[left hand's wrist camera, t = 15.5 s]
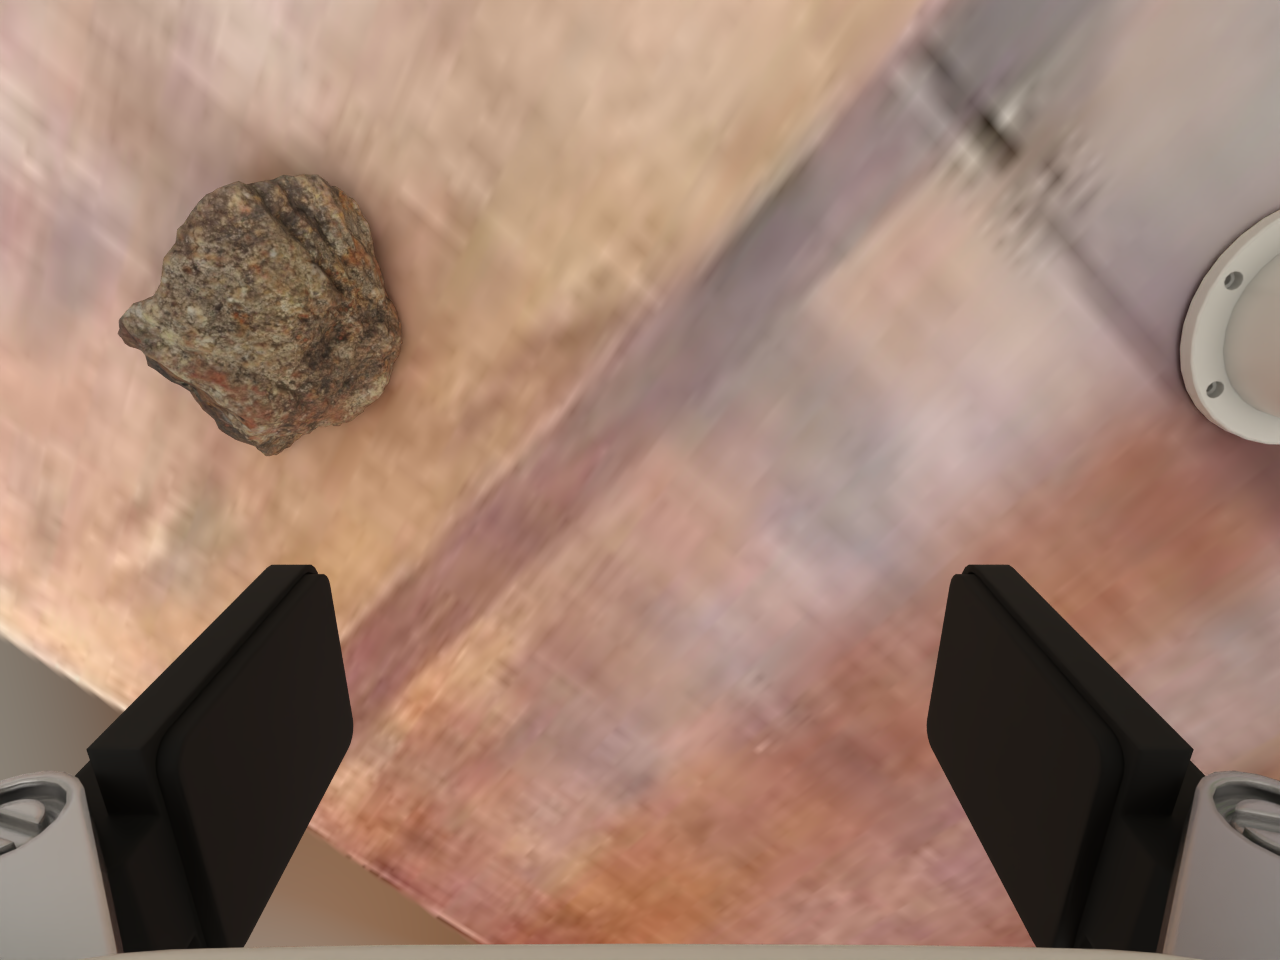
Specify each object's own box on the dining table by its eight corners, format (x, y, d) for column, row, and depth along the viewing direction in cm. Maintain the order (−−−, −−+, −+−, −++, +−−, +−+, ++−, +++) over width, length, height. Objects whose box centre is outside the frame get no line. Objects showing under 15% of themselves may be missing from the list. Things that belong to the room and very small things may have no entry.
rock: (149, 331, 39) (288, 472, 42) (14, 375, 32) (195, 545, 34) (335, 150, 35) (475, 320, 38) (232, 149, 27) (419, 364, 30)
